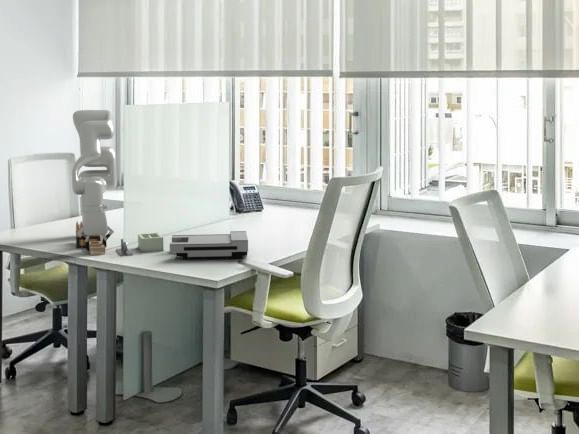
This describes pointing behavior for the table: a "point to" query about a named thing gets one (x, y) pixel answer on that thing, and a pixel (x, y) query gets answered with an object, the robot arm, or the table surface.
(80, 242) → the ammunition clip
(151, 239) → the green compartment box
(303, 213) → the table surface
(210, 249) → the grey printer
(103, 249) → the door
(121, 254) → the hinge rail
